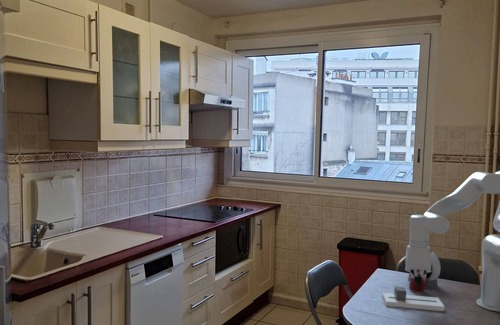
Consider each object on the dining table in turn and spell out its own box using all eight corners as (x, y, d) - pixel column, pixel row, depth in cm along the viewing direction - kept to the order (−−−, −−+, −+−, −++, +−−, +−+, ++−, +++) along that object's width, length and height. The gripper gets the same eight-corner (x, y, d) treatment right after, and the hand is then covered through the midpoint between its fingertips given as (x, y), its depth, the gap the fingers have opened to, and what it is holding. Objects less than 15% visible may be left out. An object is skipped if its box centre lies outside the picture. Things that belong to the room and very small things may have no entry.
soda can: (426, 293, 195) (428, 268, 194) (410, 292, 196) (411, 267, 196) (423, 288, 202) (424, 264, 201) (407, 286, 203) (409, 262, 203)
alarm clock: (402, 279, 214) (404, 244, 212) (416, 276, 218) (418, 242, 217) (429, 290, 199) (431, 253, 198) (443, 287, 204) (445, 250, 203)
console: (437, 302, 185) (438, 297, 185) (444, 311, 176) (444, 306, 175) (382, 297, 189) (382, 292, 189) (385, 305, 180) (385, 301, 179)
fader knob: (403, 295, 185) (404, 287, 185) (405, 300, 180) (406, 291, 180) (394, 294, 186) (394, 286, 186) (396, 299, 181) (396, 290, 181)
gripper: (434, 241, 183) (433, 282, 184) (399, 240, 185) (398, 280, 187) (439, 246, 176) (438, 288, 177) (402, 245, 178) (401, 287, 179)
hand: (417, 284), depth 182 cm, fingers closed
